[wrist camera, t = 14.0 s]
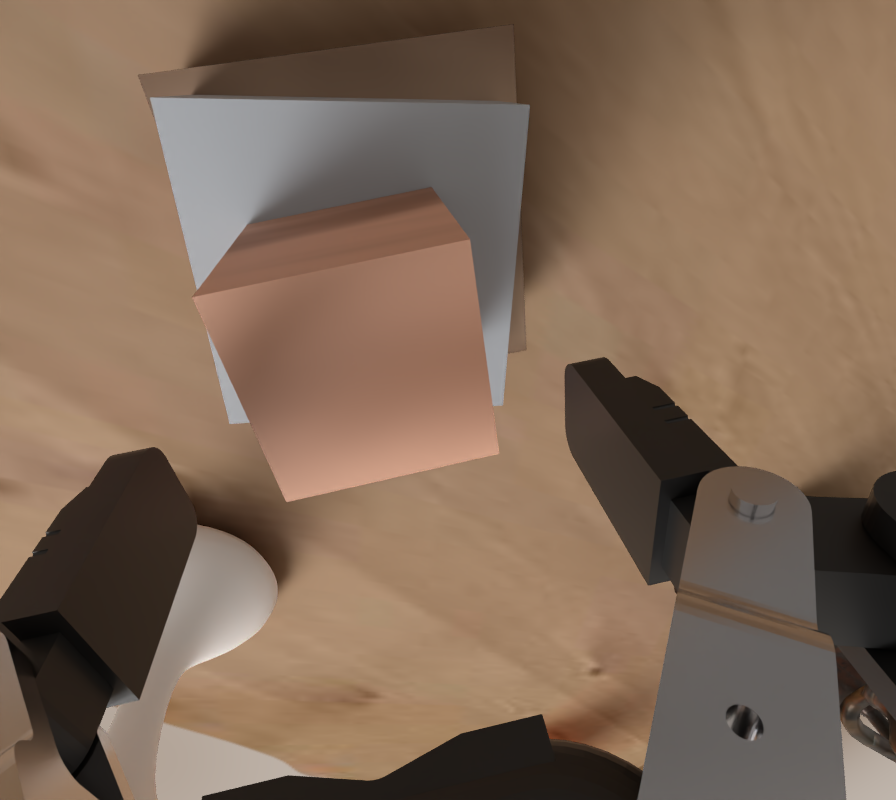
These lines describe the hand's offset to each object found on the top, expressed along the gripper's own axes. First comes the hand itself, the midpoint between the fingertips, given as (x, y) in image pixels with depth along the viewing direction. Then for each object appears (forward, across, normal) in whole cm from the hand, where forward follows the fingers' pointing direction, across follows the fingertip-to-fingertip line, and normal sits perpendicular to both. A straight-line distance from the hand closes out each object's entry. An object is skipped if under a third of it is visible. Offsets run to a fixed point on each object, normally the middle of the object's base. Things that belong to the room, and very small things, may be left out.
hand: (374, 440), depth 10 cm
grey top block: (+12, 0, -1) cm, 12 cm away
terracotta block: (+8, 0, 0) cm, 8 cm away
